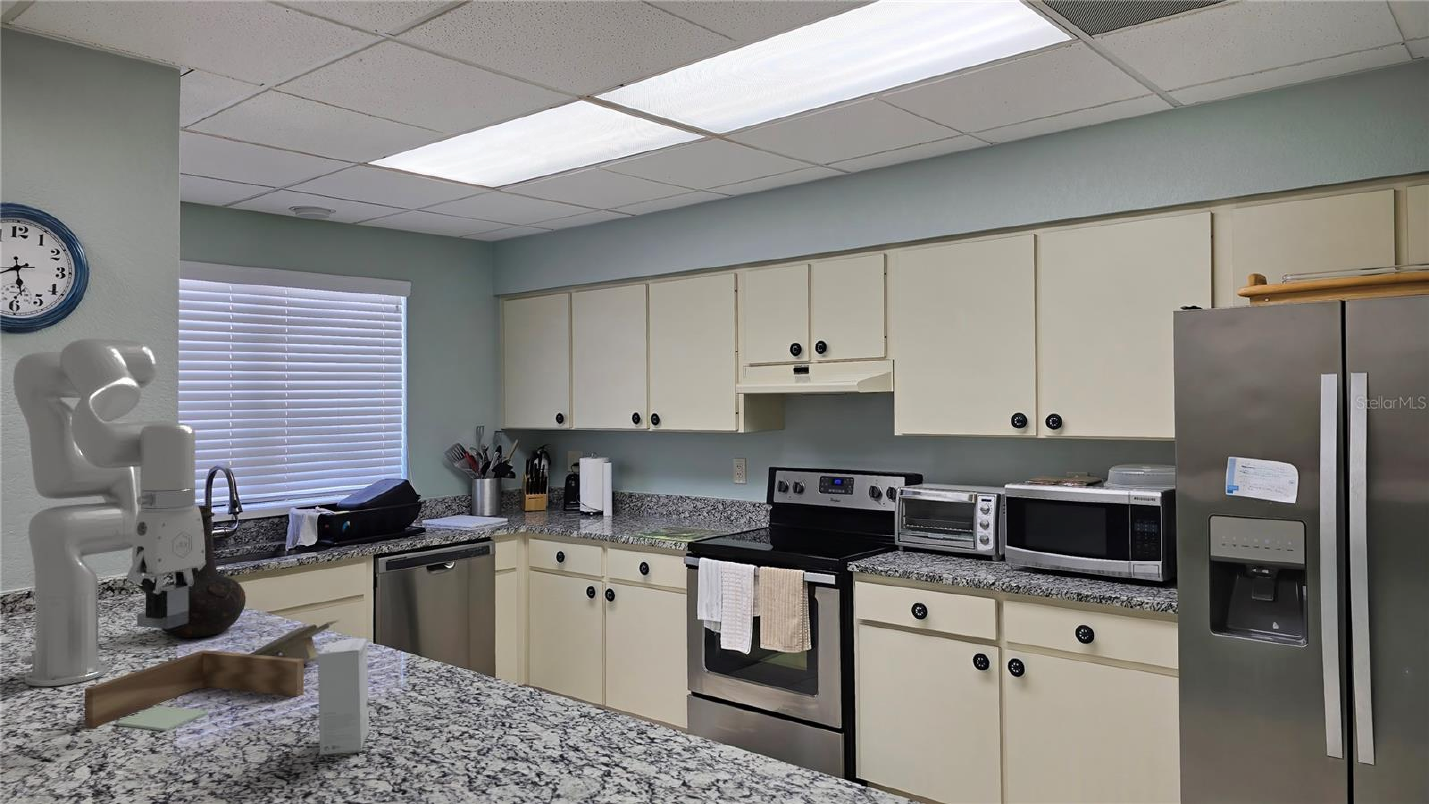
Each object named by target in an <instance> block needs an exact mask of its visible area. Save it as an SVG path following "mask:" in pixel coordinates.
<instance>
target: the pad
mask: <svg viewBox="0 0 1429 804" xmlns="http://www.w3.org/2000/svg"><path fill="white" fill-rule="evenodd" d="M208 714H209V711H207V710H198V709H190V708H189V709H188V708H181V707H173V706H165V705H158V706H155V707H152V708H150V709H148V710H144V711H142V712H138V713H136V714H133V715H132V716H128V717H126V718H123V719H120V720H118V721H115V725H116V726H121V727H123V726H124V727H130V728H138V729H144V730H145V729H146V730H155V731H163V732H167V731H170V730H172V729H174V728H177V727H180V726H182V725H185V724H187V723H189V722H192V721H193V720H197V719H198V718H202V717H203V716H206V715H208Z"/></svg>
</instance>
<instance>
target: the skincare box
mask: <svg viewBox="0 0 1429 804" xmlns="http://www.w3.org/2000/svg"><path fill="white" fill-rule="evenodd" d="M317 654H318V658H317V681H318V682H317V684H318V686H317V687H318V725H319V727H318V730H319V732H318V734H319V735H318V736H319V740H318V741H319V755H321V756H322V755H330V754H331V755H332V754H352V753H360V752H362V748H363V746H364V743H365V741H366V739H367V737H368V735H369V733H370V710H369V677H368V676H369V671H368V670H369V669H368V638H366V637H365V638H354V639H340V640H330V641H328V642H327V644H326V645H324V646H322V649H321V650H320V652H319V653H317Z"/></svg>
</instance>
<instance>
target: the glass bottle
mask: <svg viewBox="0 0 1429 804" xmlns="http://www.w3.org/2000/svg"><path fill="white" fill-rule="evenodd" d="M197 506H198V507H199V509H200V512H201V517H202V522H203V529H204V540H205V560H206V564H205V565H204V566H203V567H202V568H201V570H200V571H198V574H197V575H196V577H195V578H194V579H193V581H194V583H193V585H192V586H189V587H190V610H189V611H188V623H186V624H183V625H179V626H176V627H172V628H169V629H163V628H160V629H161V630H162V631H164V632H165V633H166V634H168V635H170V636H173V637H176V638H181V639H192V638H193V639H194V638H202V637H208V636H214V635H216V634H220V633H223V632H225V631H226V630H228V629H229V628H231V627H232V626H233V625H234V624H235V623H236V621H238V619H239V618H240V617H241V615H242V613H243V611H244V609H245V606H246V592H245V590H244V588H243V586H242V585H241V584H240V583H239V582H238V581H237V580H235V579H233V578H231V577H228V576H224V575H221V573H219V571H218V569H217V566H216V562H215V556H214V555H215V553H214V547H213V531H212V518H213V517H215V516H216V513H215V512H212V509H213V506H212V505H208V504H207V505H205V504H203V505H200V504H199V505H197ZM181 573H183V572H181ZM170 585H175V584H174V580H173V581H171V582H170V583H168V584H166V585H165V586H164V587H166V586H170Z"/></svg>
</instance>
